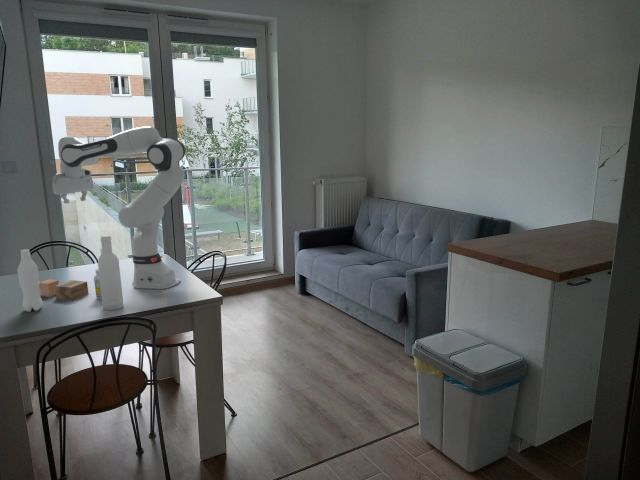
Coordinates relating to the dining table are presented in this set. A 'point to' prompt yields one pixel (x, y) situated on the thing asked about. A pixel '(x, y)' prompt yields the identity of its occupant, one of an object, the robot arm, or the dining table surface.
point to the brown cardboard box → (48, 287)
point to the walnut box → (71, 290)
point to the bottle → (109, 276)
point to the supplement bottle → (97, 285)
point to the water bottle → (29, 282)
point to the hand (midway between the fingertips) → (75, 202)
